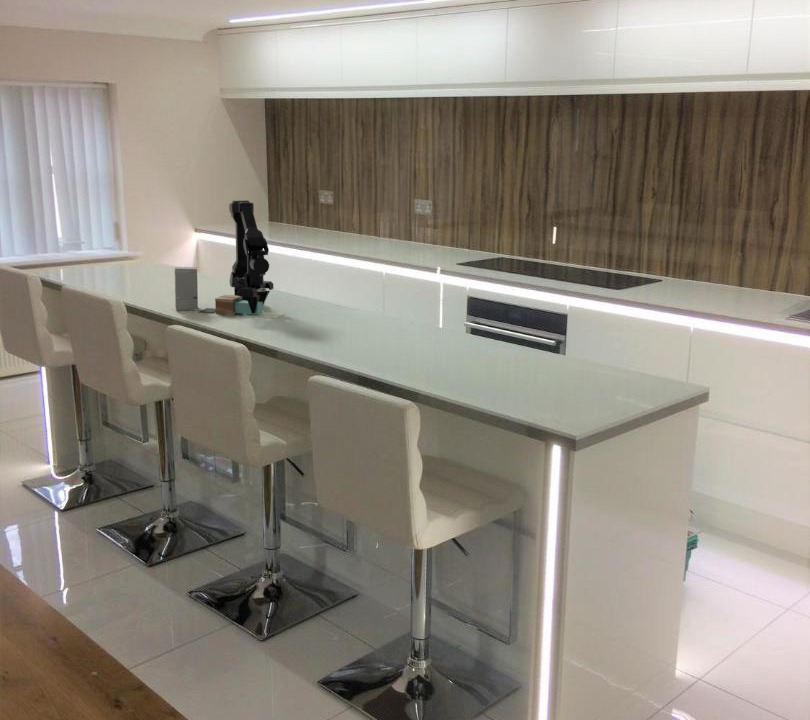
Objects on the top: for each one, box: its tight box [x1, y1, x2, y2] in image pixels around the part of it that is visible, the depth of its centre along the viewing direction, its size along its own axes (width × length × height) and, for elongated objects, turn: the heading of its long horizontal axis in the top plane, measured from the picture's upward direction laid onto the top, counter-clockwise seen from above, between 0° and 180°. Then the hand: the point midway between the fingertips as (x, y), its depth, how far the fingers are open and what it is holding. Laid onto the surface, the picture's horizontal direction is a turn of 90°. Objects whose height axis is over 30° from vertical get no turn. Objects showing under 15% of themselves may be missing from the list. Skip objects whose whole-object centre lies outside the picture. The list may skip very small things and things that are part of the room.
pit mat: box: [197, 307, 216, 314], centre depth 335 cm, size 7×6×1 cm
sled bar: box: [234, 300, 264, 315], centre depth 331 cm, size 4×14×4 cm, turn 74°
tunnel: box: [214, 294, 242, 316], centre depth 332 cm, size 8×7×6 cm
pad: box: [242, 311, 285, 319], centre depth 329 cm, size 8×13×1 cm, turn 74°
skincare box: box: [174, 266, 199, 311], centre depth 337 cm, size 8×7×16 cm
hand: (256, 311), depth 330 cm, fingers open, 5 cm apart
